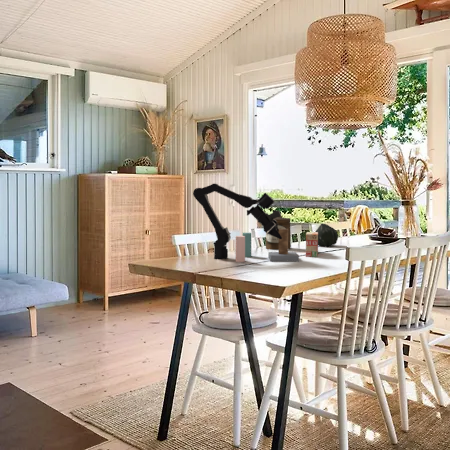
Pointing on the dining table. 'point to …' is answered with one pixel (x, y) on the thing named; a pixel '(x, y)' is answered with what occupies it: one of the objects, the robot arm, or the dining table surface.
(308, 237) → the stack of blocks
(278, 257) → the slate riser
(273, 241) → the wooden container
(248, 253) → the muted teal block
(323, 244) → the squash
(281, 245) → the walnut block
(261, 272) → the dining table surface
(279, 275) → the dining table surface
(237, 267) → the dining table surface
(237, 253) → the dusty pink block
